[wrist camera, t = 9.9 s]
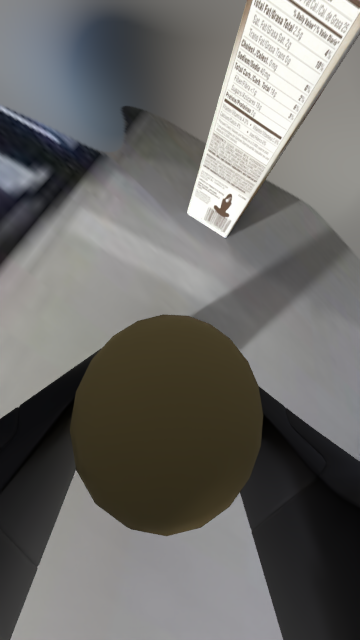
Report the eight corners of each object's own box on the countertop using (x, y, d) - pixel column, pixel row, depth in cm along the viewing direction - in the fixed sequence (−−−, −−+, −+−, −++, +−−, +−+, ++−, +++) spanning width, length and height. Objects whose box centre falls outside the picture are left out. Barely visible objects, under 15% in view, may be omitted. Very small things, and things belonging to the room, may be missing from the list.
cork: (125, 340, 14) (79, 256, 4) (190, 351, 15) (293, 309, 5) (105, 418, 12) (-103, 688, 2) (182, 425, 13) (331, 621, 3)
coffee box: (213, 180, 24) (332, -139, 9) (248, 203, 24) (423, -69, 9) (184, 214, 20) (299, -204, 6) (226, 241, 21) (443, -90, 6)
